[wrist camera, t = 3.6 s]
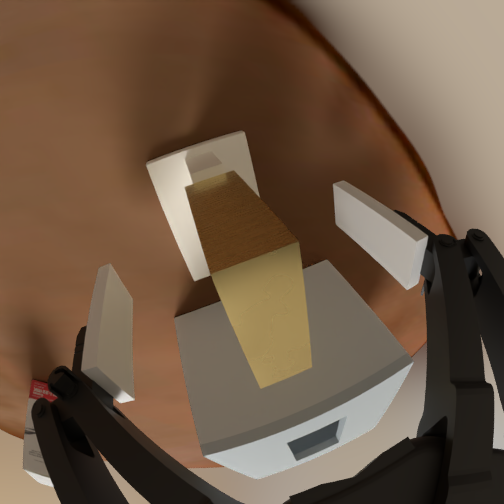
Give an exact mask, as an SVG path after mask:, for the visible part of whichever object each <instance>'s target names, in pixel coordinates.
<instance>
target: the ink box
mask: <svg viewBox="0 0 504 504" xmlns="http://www.w3.org/2000/svg"><path fill="white" fill-rule="evenodd" d="M47 385H48V384H47V383H44V382H40V381H36V380H33V379H32V382H31V388H30V394H29V400H28V408H27V416H26V424H25V434H24V449H23V469H24V470H25V471H26V472H28V474H29V475H31V476H32V477H33V478H34V479H35V480H36V481H38V482H39V483H41V484H44V485H48V486H51V487H54V486H53V484H52V482H51V479H50V476H49V474H48V471H47V468H46V466H45V463H44V460H43V457H42V454H41V451H40V447H39V444H38V440H37V437H36V433H35V429H34V425H33V421H32V417H31V410H32V406H33V404H34V403H35V401H36V400H37V399H39V398H46V399H47V400H48V401H50V402H52V401H54V400H55V399H57V398H58V397H57V396H55V395H54V394H53V393H51V392H50V391H49V390H48V386H47Z"/></svg>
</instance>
